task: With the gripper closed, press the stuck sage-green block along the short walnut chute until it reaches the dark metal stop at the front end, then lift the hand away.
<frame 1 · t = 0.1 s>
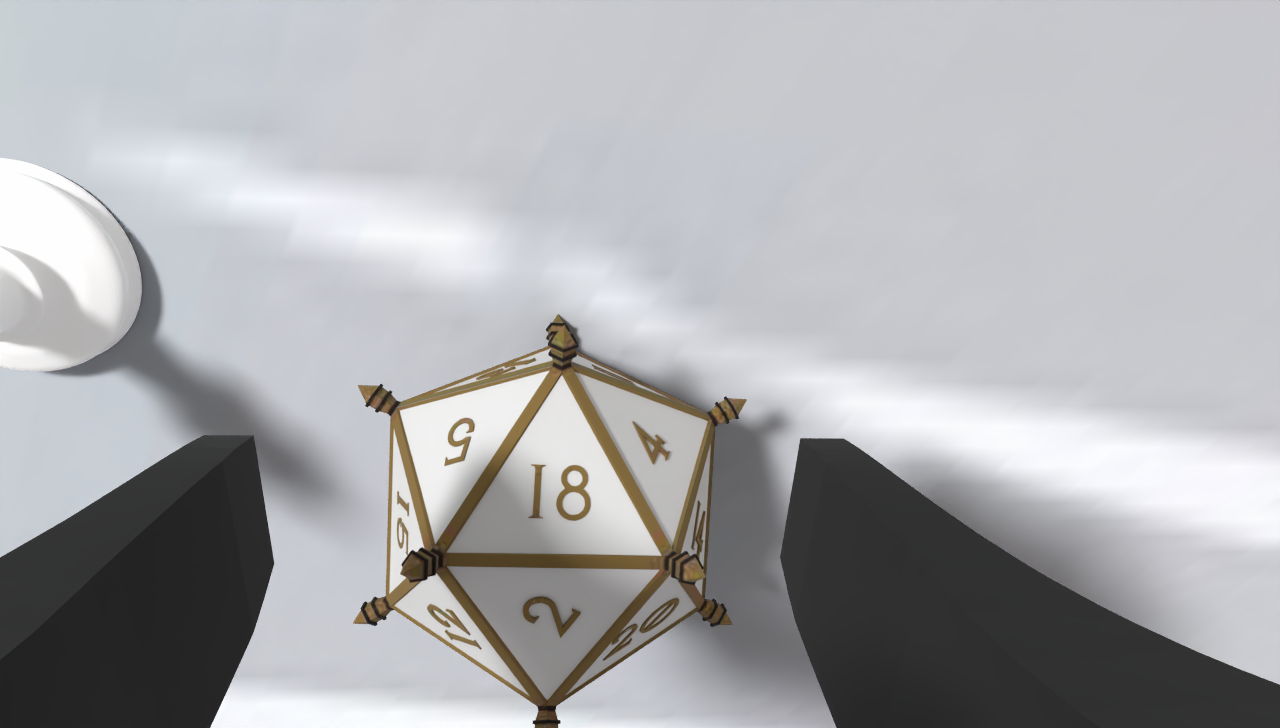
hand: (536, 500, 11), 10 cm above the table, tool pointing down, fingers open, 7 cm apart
chess piece: (31, 262, 19), on the table
game die: (552, 416, 22), on the table
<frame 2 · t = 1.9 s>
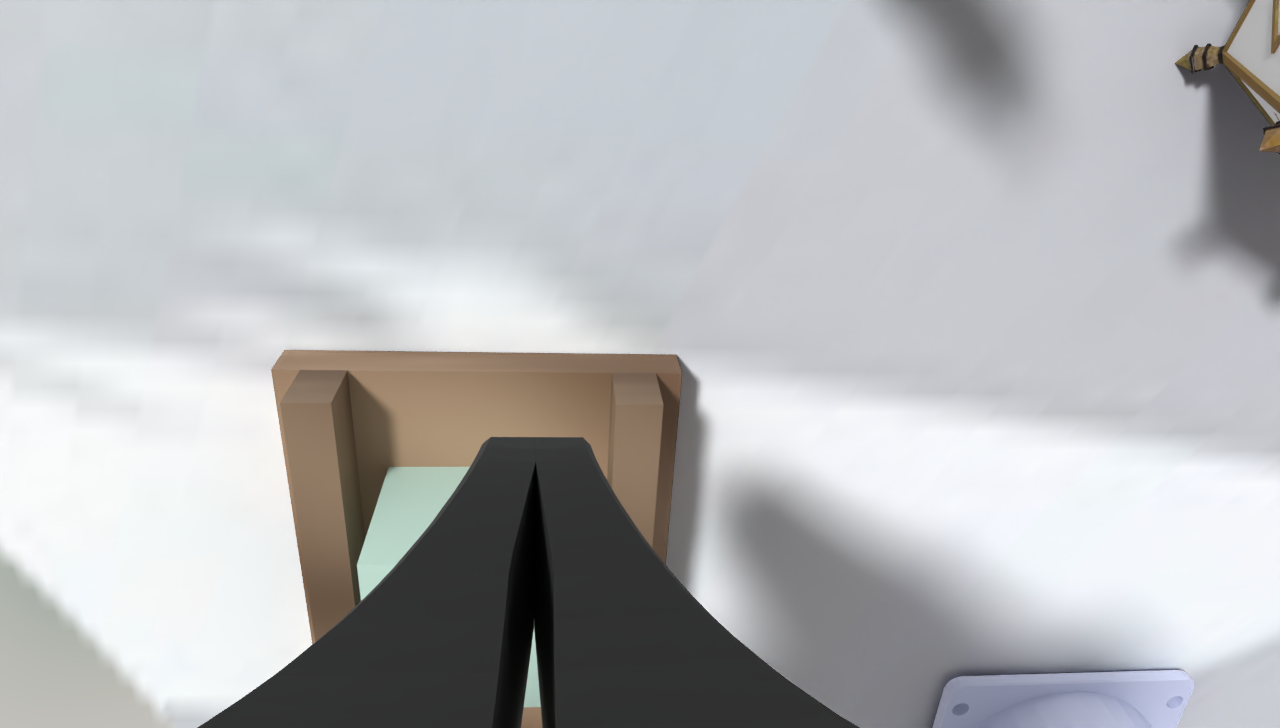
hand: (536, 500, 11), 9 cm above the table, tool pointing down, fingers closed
stuck block: (480, 583, 19), point 3 cm above the table, slide at 0.0 cm
chute: (491, 573, 22), on the table
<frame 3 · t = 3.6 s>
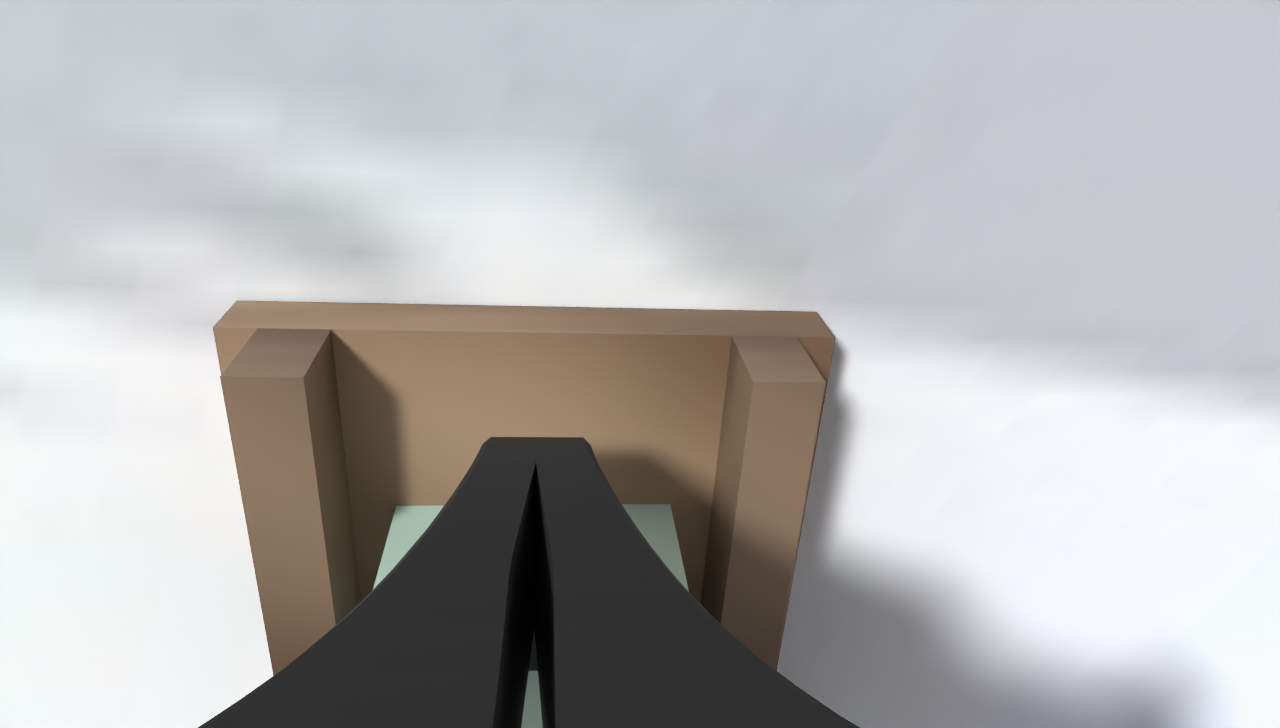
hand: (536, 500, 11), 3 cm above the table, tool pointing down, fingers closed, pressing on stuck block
stuck block: (533, 679, 13), point 3 cm above the table, slide at 0.6 cm, touching gripper
chute: (535, 623, 16), on the table
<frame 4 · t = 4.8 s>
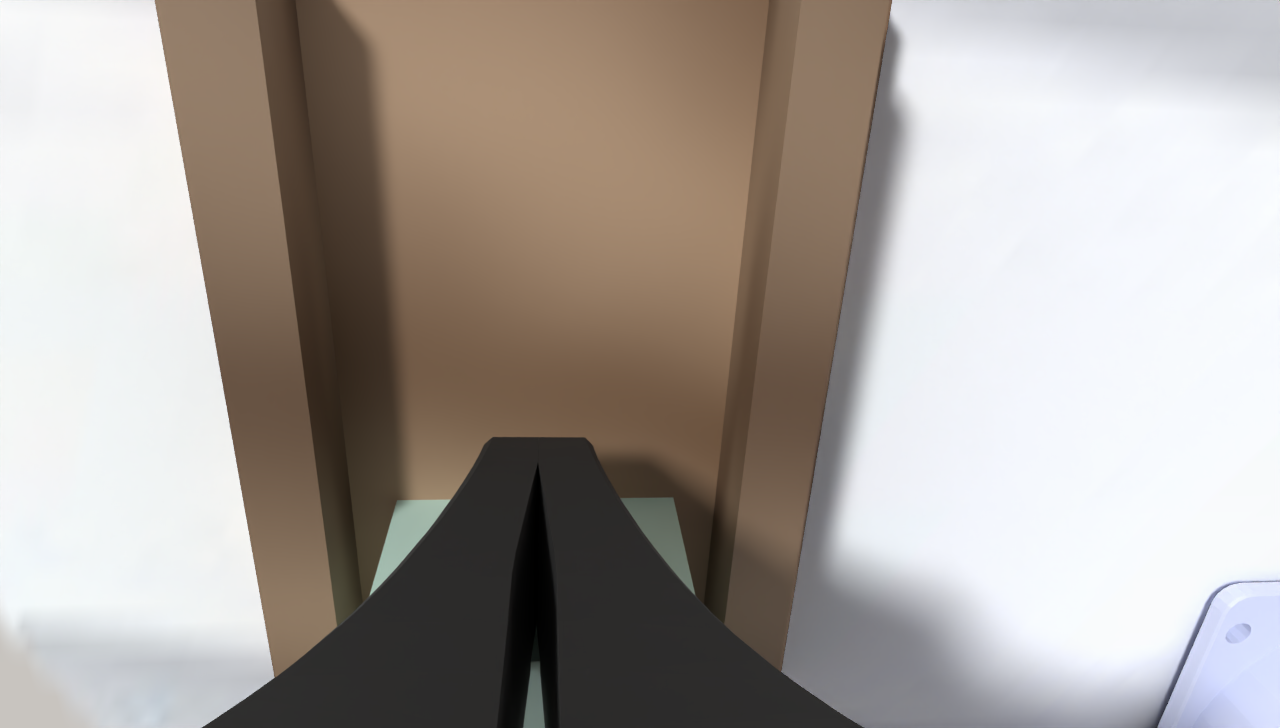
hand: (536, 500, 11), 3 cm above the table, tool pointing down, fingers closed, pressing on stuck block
stuck block: (535, 674, 13), point 3 cm above the table, slide at 5.3 cm, touching chute, gripper
chute: (538, 397, 14), on the table
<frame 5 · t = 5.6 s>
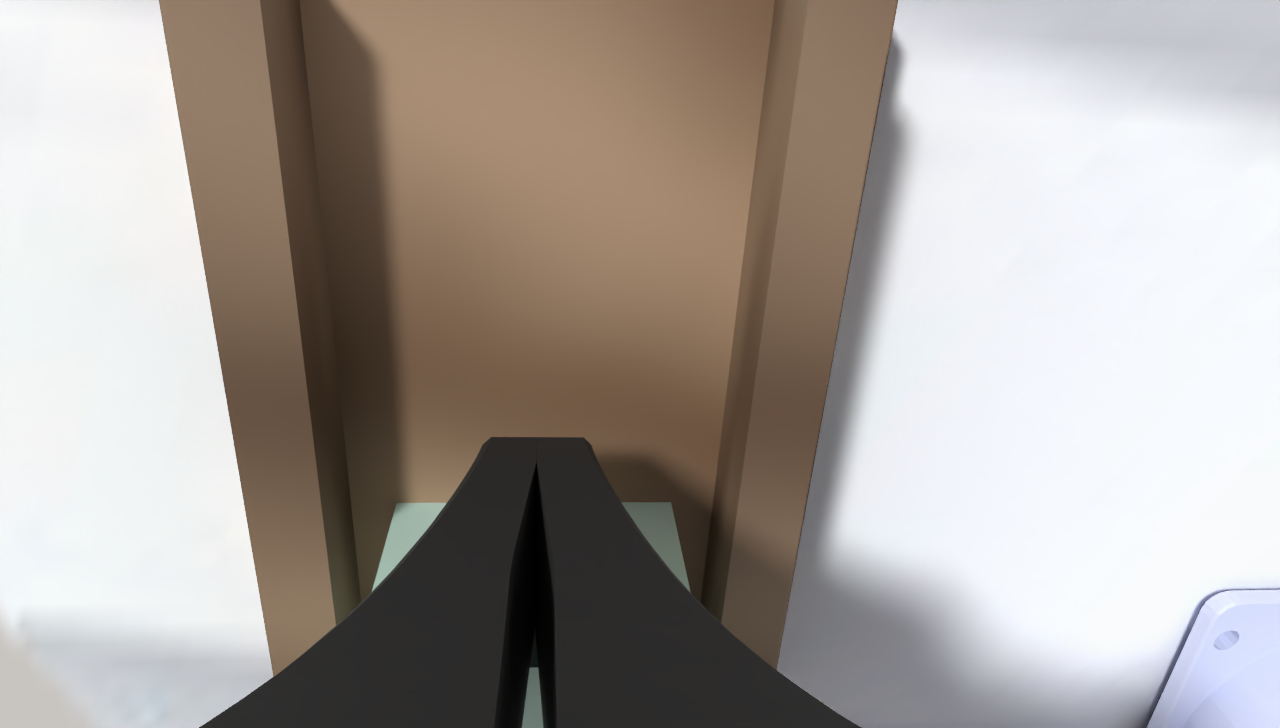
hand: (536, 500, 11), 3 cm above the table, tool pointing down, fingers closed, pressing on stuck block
stuck block: (533, 677, 13), point 3 cm above the table, slide at 5.3 cm, touching gripper
chute: (538, 403, 14), on the table
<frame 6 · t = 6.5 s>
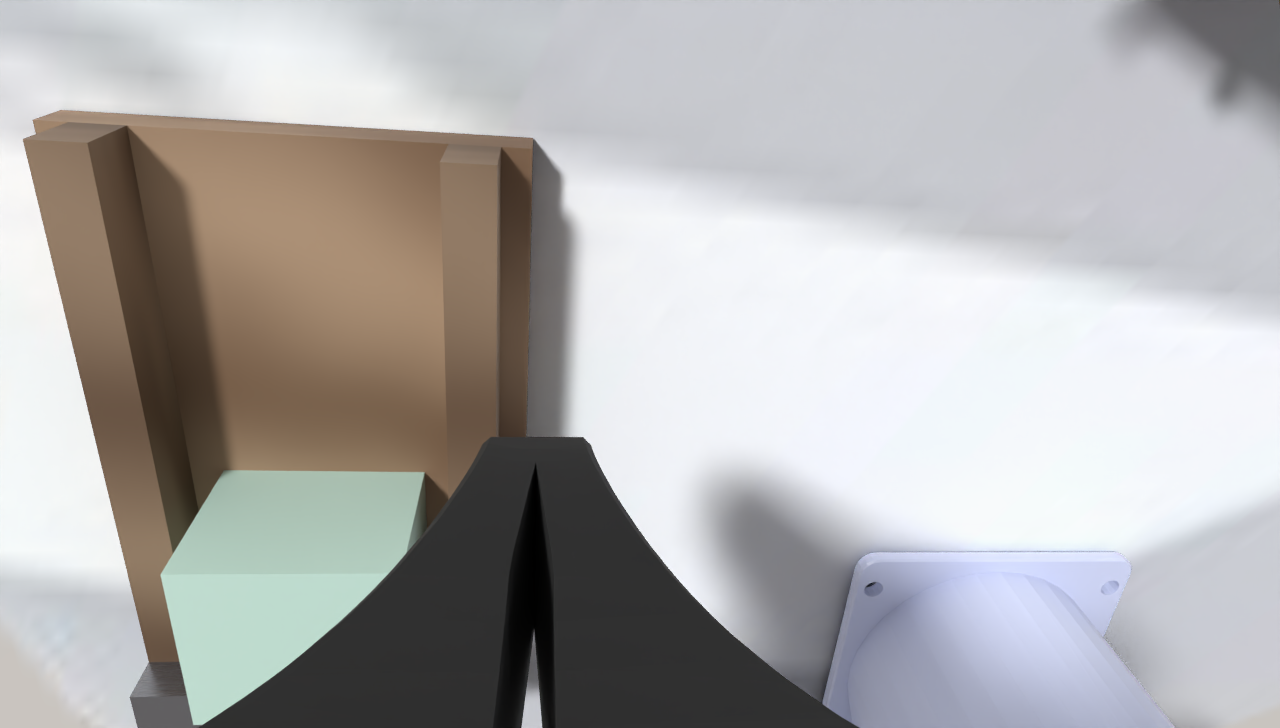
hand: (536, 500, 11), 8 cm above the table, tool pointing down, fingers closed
stuck block: (315, 592, 18), point 3 cm above the table, slide at 5.1 cm
chute: (331, 409, 20), on the table
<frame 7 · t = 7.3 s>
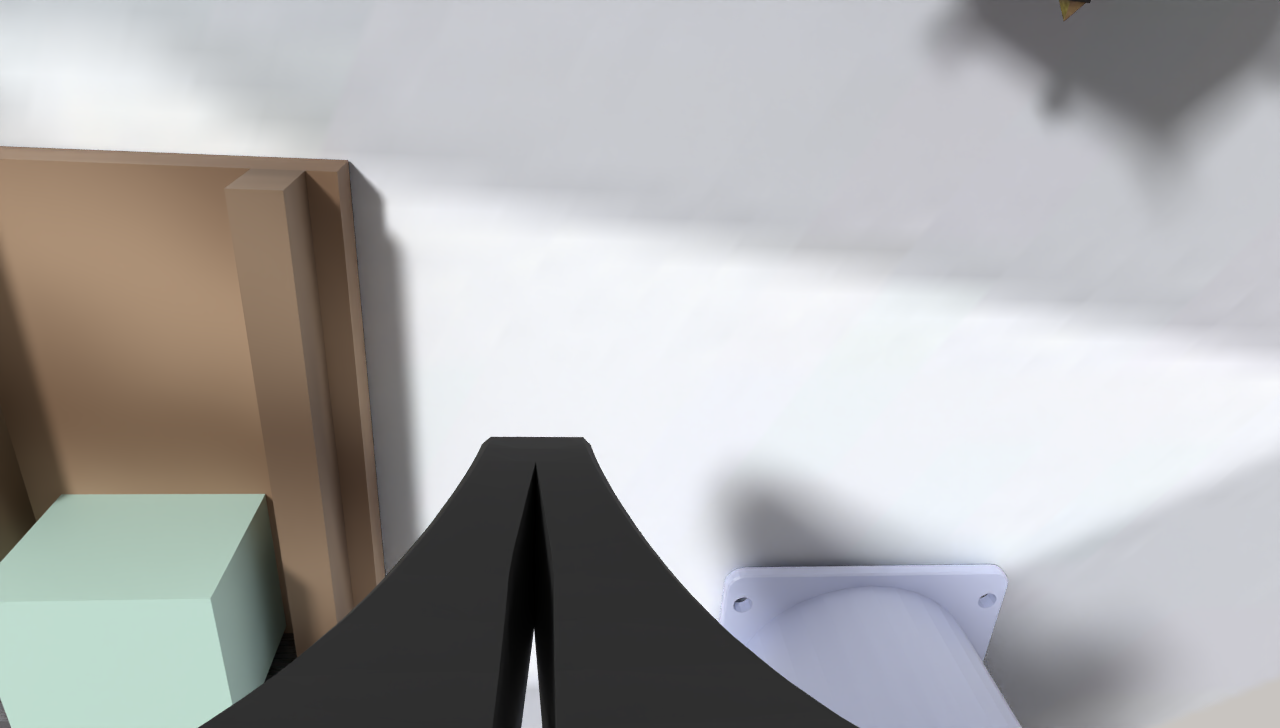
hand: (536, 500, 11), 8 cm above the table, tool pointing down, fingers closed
stuck block: (148, 615, 18), point 3 cm above the table, slide at 5.1 cm
chute: (173, 431, 20), on the table
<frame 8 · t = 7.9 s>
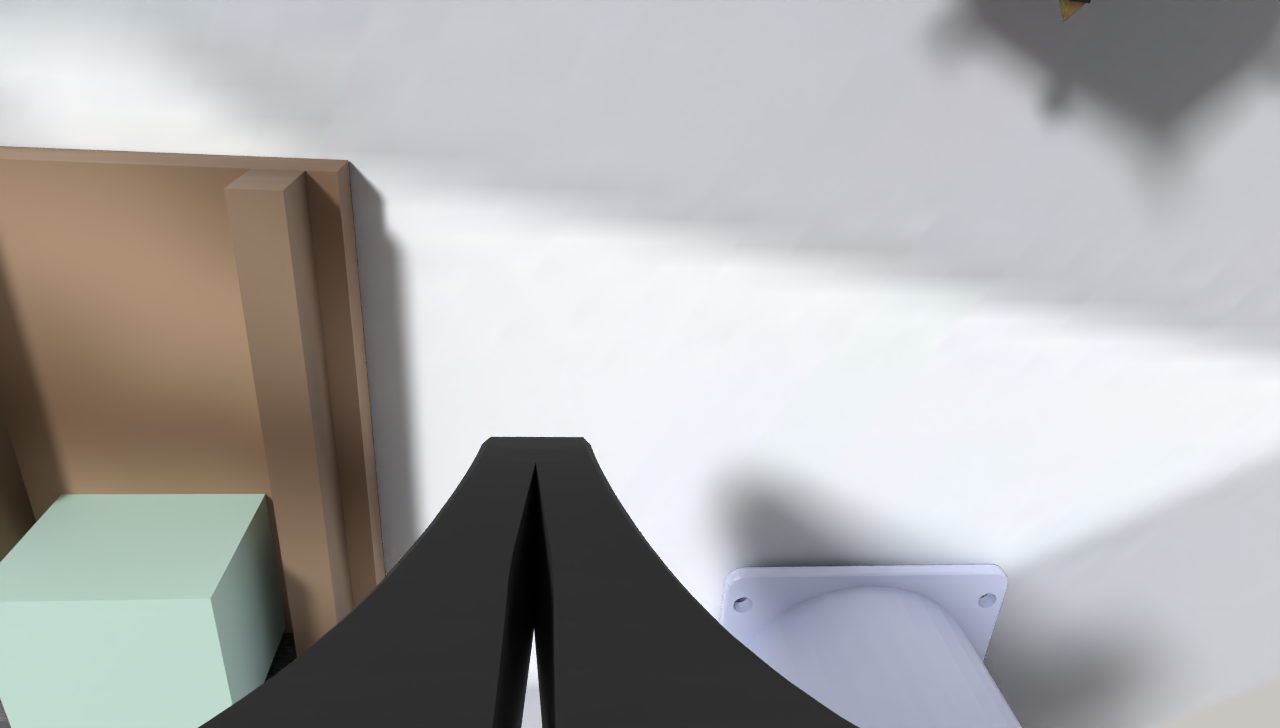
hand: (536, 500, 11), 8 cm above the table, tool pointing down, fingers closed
stuck block: (148, 615, 18), point 3 cm above the table, slide at 5.1 cm
chute: (173, 431, 20), on the table
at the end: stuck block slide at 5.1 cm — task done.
